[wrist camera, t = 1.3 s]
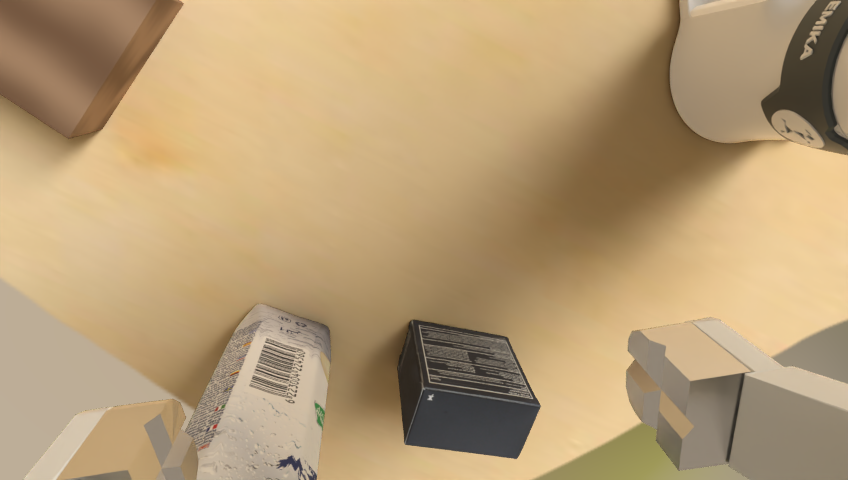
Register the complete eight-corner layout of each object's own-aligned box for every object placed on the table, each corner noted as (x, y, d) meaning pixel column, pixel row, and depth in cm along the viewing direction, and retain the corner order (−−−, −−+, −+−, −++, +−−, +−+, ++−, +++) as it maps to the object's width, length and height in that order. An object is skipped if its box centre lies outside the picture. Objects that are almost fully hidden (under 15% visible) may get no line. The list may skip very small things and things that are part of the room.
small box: (394, 371, 50) (400, 448, 40) (410, 317, 48) (420, 384, 38) (490, 387, 52) (518, 464, 42) (509, 335, 50) (543, 404, 40)
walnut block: (24, -125, 33) (-33, -155, 28) (185, 4, 36) (158, -4, 32) (-54, 21, 35) (-118, 16, 31) (104, 128, 39) (68, 138, 34)
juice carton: (217, 377, 48) (51, 733, 23) (252, 288, 45) (104, 586, 20) (304, 402, 50) (239, 753, 25) (342, 319, 47) (312, 623, 22)
